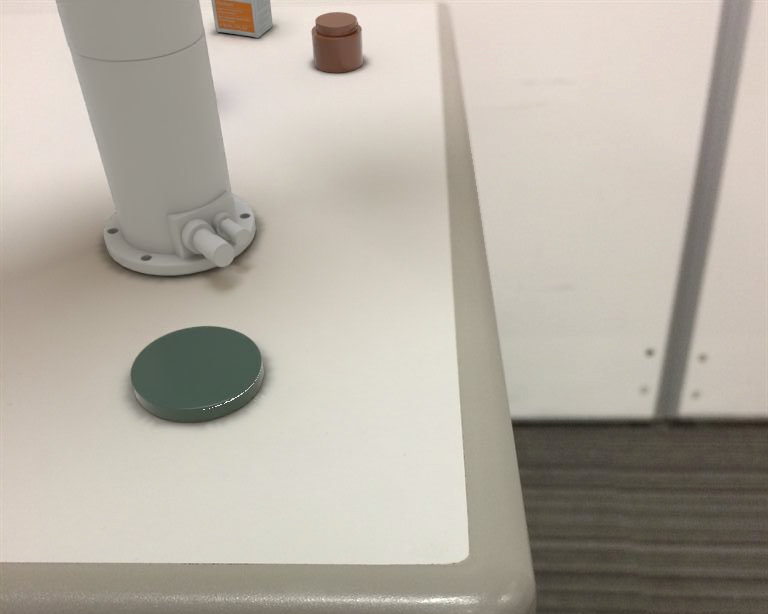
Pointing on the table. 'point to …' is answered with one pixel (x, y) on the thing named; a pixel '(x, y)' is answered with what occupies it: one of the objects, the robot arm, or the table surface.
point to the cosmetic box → (242, 16)
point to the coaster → (197, 373)
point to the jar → (337, 42)
